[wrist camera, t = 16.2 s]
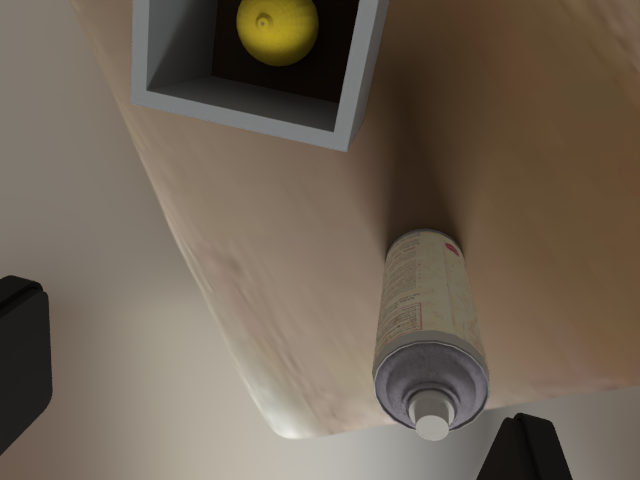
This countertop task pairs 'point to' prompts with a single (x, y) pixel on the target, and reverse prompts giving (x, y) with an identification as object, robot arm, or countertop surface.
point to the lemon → (277, 29)
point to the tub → (237, 97)
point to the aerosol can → (429, 338)
